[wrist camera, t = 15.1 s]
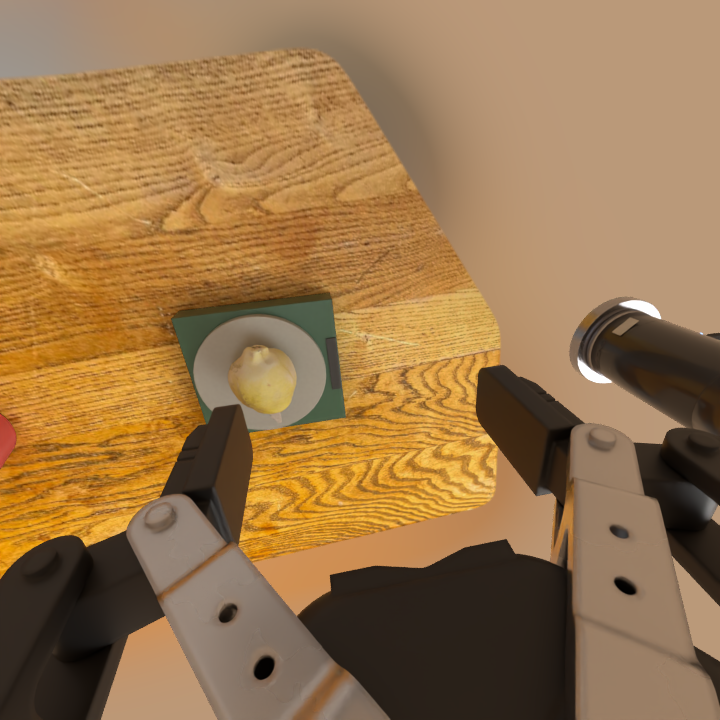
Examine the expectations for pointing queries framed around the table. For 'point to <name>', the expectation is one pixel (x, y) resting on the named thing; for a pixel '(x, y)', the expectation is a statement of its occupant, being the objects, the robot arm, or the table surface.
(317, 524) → the table surface
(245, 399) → the fruit
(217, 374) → the scale
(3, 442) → the flower pot
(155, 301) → the table surface
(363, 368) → the table surface
